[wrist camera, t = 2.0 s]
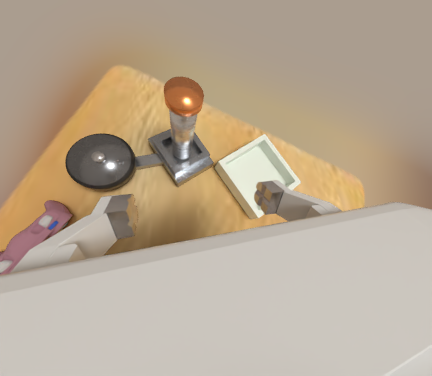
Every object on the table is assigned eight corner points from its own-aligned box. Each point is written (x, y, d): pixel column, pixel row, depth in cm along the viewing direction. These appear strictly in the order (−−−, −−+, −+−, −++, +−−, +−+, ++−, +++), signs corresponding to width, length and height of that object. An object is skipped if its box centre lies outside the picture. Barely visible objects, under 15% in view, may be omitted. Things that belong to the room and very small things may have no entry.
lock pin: (197, 155, 29) (211, 101, 17) (178, 165, 28) (178, 114, 15) (185, 137, 30) (189, 72, 17) (165, 147, 28) (155, 83, 16)
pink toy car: (33, 267, 23) (9, 295, 17) (-8, 256, 21) (-51, 284, 15) (83, 211, 26) (77, 218, 21) (52, 196, 24) (36, 200, 18)
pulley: (149, 177, 29) (143, 166, 24) (98, 204, 26) (79, 198, 21) (123, 138, 29) (112, 120, 24) (71, 160, 26) (46, 144, 21)
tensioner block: (211, 167, 32) (215, 159, 28) (141, 208, 27) (135, 205, 23) (184, 129, 33) (185, 117, 29) (111, 163, 28) (101, 153, 24)
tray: (289, 186, 36) (301, 182, 32) (250, 219, 31) (258, 218, 28) (257, 142, 36) (264, 133, 33) (214, 168, 32) (218, 161, 29)
